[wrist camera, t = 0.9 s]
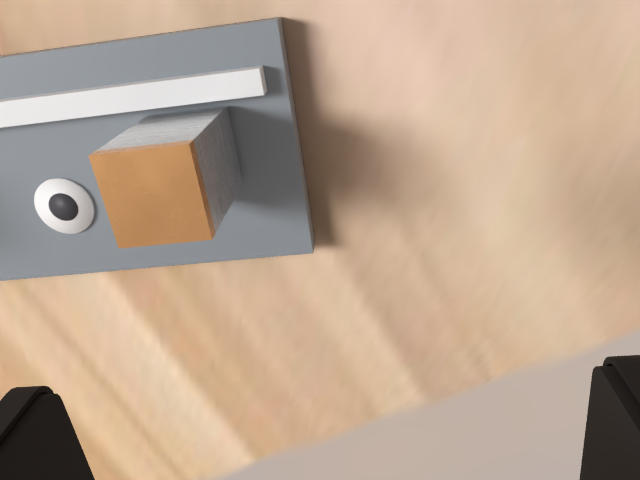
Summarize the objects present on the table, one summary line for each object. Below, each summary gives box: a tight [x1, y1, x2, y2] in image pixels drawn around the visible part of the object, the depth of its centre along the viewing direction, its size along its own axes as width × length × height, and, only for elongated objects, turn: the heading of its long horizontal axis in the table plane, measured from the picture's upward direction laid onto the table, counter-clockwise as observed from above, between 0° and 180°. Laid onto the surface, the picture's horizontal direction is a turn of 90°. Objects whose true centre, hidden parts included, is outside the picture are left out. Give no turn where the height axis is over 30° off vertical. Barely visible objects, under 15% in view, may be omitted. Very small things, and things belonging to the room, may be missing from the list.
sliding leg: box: [89, 106, 243, 249], centre depth 25 cm, size 5×4×7 cm
